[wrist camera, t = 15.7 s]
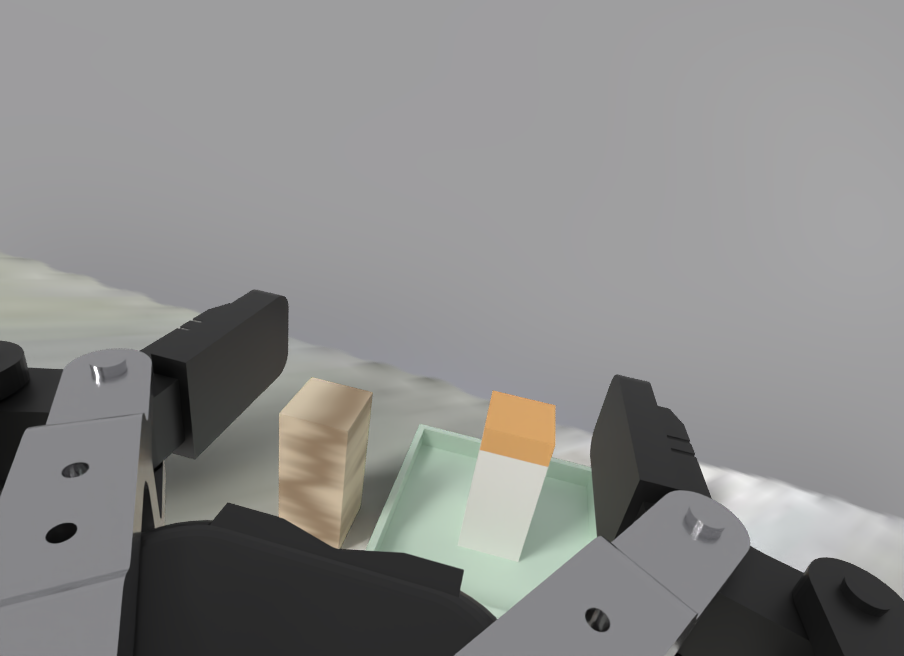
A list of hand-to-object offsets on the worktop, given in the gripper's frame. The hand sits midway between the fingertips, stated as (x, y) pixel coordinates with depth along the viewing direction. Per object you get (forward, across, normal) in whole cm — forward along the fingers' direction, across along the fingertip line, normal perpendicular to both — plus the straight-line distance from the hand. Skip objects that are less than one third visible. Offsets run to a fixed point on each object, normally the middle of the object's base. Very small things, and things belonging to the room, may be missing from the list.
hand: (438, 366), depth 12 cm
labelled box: (+21, -4, +27) cm, 35 cm away
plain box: (+18, +10, +28) cm, 35 cm away
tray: (+21, -4, +28) cm, 35 cm away
